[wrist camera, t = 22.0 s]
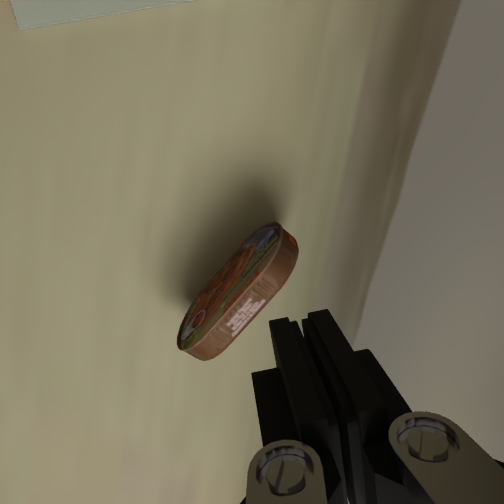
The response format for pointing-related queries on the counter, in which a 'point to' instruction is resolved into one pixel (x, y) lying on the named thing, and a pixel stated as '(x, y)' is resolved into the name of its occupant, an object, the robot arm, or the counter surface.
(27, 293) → the counter surface
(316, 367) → the robot arm
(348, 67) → the counter surface
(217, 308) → the tin
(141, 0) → the mat
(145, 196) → the counter surface
